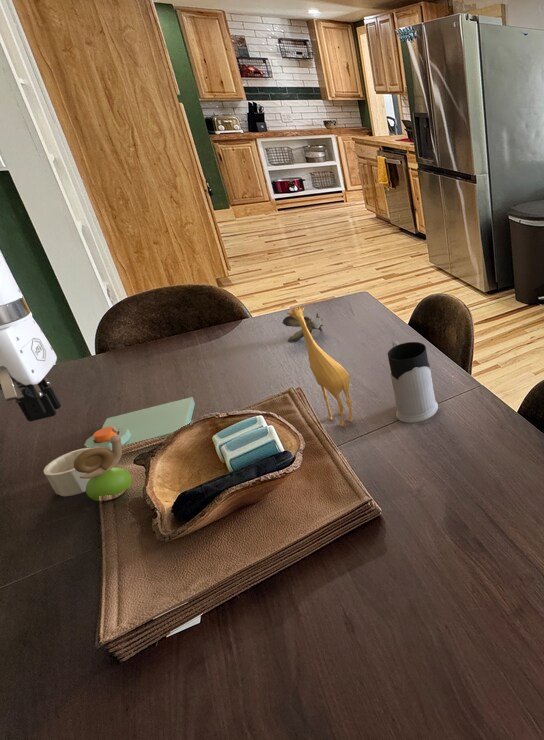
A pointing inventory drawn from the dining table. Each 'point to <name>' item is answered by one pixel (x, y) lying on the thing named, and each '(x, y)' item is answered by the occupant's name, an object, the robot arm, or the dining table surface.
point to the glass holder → (412, 382)
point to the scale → (148, 423)
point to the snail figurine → (103, 469)
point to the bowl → (66, 475)
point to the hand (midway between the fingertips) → (45, 413)
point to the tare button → (103, 434)
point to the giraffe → (325, 368)
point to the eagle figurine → (294, 322)
